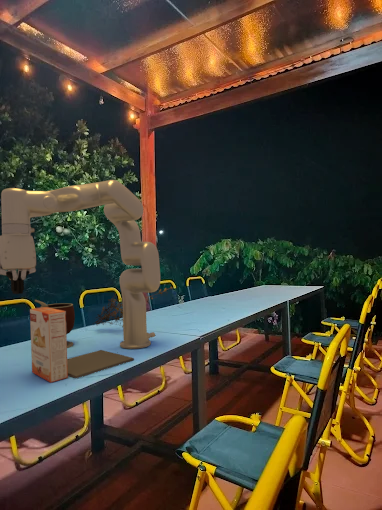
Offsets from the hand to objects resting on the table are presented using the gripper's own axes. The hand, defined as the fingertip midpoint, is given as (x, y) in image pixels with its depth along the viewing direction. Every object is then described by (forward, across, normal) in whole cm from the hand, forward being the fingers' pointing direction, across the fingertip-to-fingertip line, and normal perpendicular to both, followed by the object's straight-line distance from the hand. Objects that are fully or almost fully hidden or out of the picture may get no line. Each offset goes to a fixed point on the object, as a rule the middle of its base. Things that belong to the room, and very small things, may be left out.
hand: (17, 293), depth 105 cm
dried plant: (+27, -67, -28) cm, 78 cm away
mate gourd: (+27, -30, -33) cm, 52 cm away
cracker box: (+27, -9, 0) cm, 29 cm away
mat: (+27, -24, 0) cm, 36 cm away
